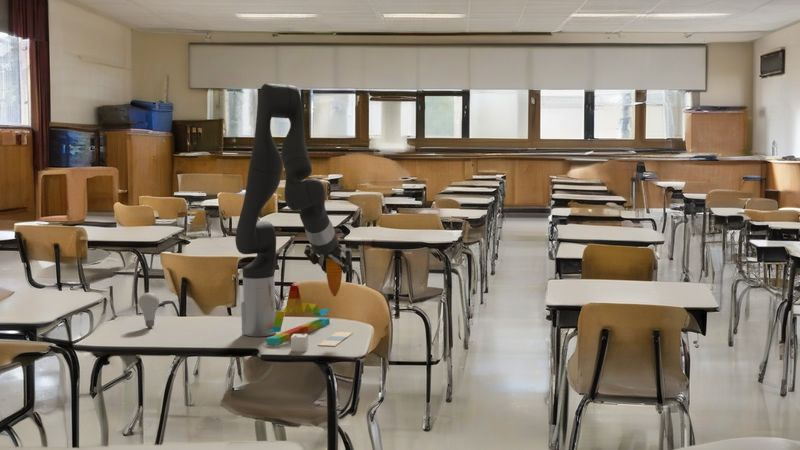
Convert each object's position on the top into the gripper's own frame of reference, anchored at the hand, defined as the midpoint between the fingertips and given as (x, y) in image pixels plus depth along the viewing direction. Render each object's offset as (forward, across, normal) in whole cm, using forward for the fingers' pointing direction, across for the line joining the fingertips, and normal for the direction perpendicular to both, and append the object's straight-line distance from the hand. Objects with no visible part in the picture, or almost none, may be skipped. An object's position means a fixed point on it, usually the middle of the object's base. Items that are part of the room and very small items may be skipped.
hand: (336, 270), depth 268 cm
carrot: (+4, 0, +6) cm, 8 cm away
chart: (+17, +13, +11) cm, 24 cm away
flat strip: (+13, 0, +15) cm, 20 cm away
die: (+4, +6, +25) cm, 26 cm away
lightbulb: (+16, +62, +13) cm, 65 cm away
